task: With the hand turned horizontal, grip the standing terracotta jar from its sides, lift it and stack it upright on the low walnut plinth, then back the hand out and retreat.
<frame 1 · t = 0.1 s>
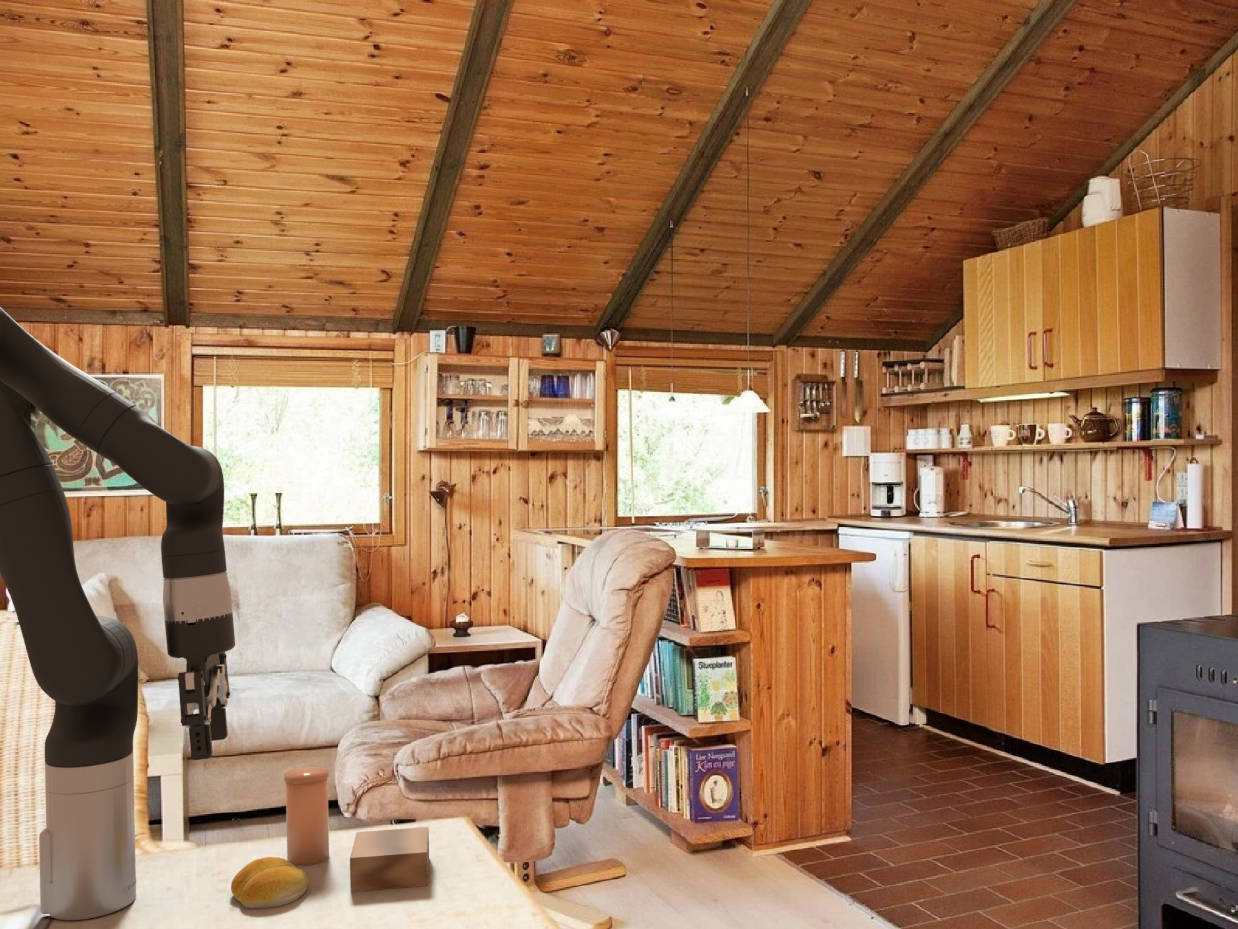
hand: (210, 748, 124), 17 cm above the table, tool pointing down, fingers open, 8 cm apart
jar: (308, 858, 135), on the table
plinth: (391, 874, 129), on the table
bread roll: (269, 897, 124), on the table
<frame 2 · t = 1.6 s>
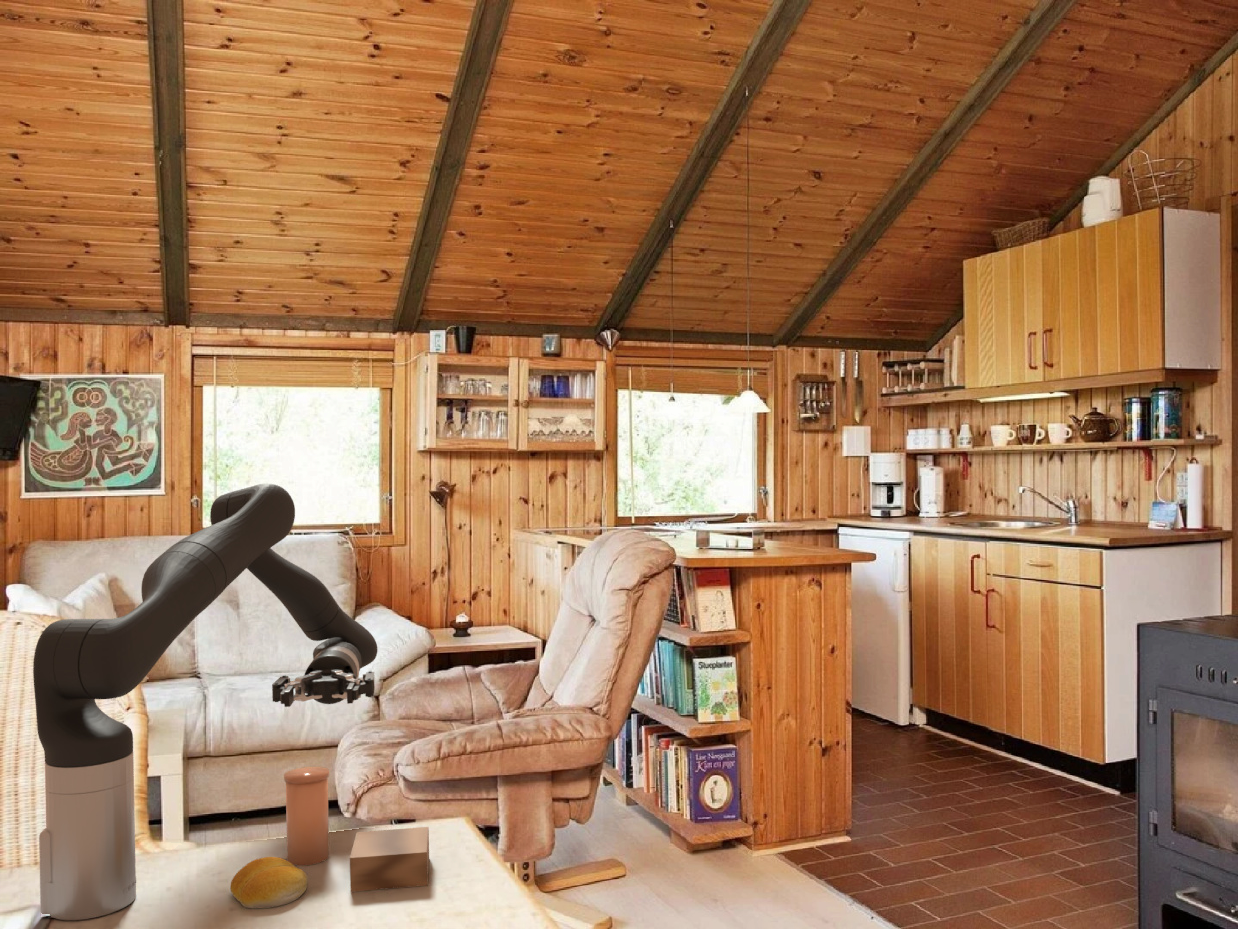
hand: (318, 698, 146), 18 cm above the table, tool horizontal, fingers open, 8 cm apart
nothing on the table moved.
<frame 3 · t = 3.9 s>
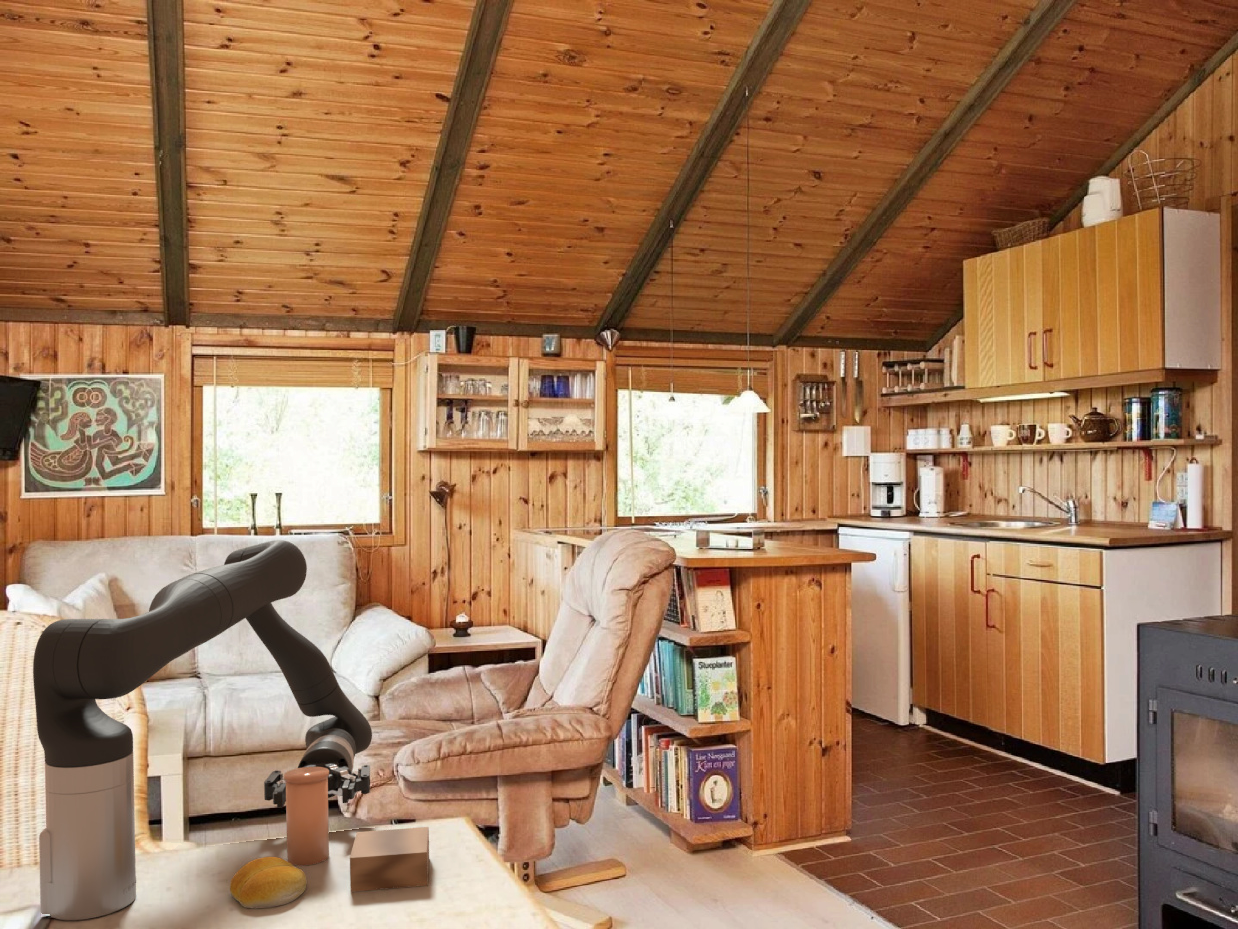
hand: (312, 798, 141), 6 cm above the table, tool horizontal, fingers open, 8 cm apart
nothing on the table moved.
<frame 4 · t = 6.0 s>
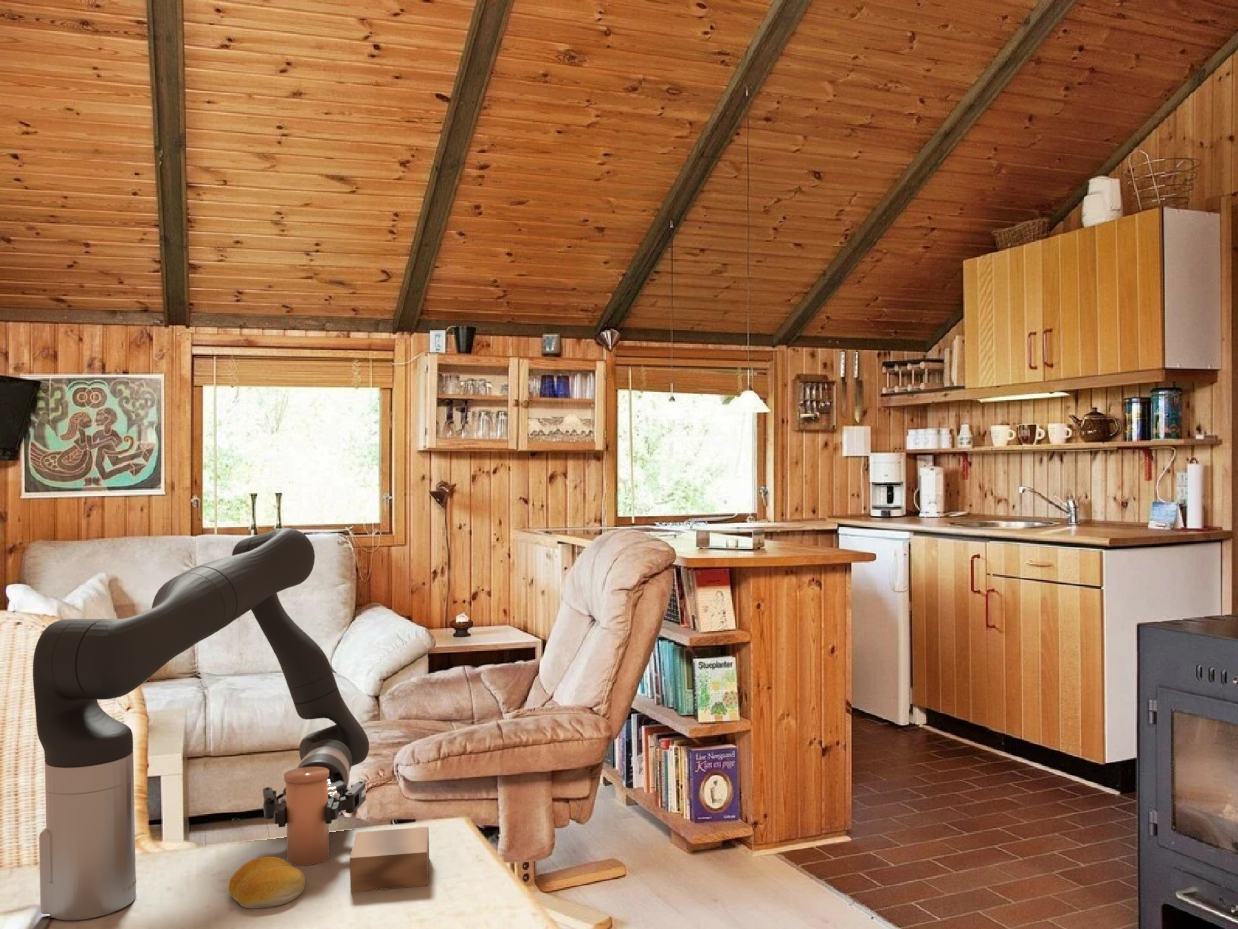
hand: (304, 817, 133), 6 cm above the table, tool horizontal, fingers closed on jar, 5 cm apart
jar: (308, 857, 135), on the table, touching gripper
everything else where it was.
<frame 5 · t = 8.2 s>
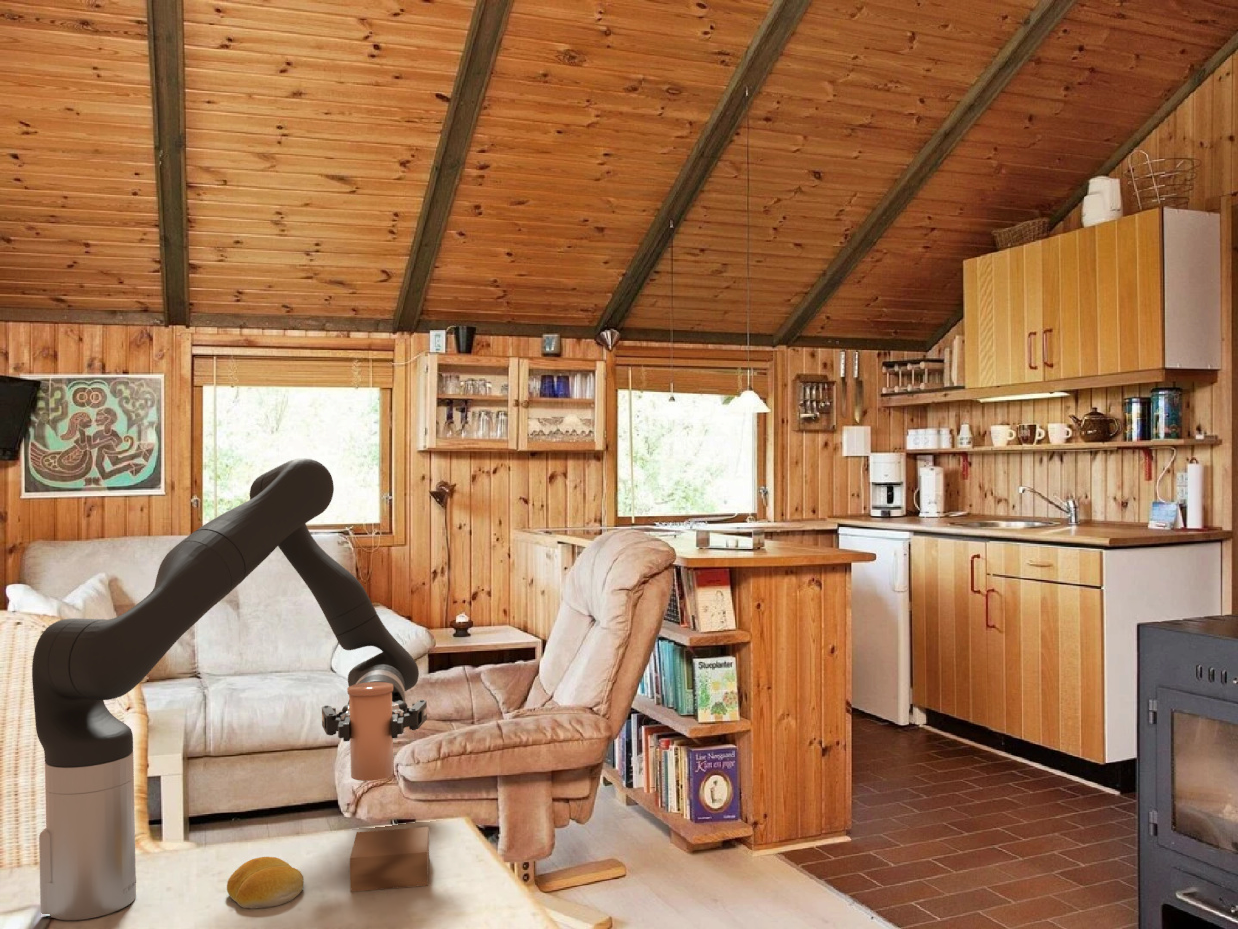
hand: (370, 731, 128), 18 cm above the table, tool horizontal, fingers closed on jar, 5 cm apart
jar: (372, 774, 131), point 12 cm above the table, touching gripper
everything else where it was.
when the fingers open (11 cm above the table, at t = 10.6 s): jar stays where it is, resting on plinth.
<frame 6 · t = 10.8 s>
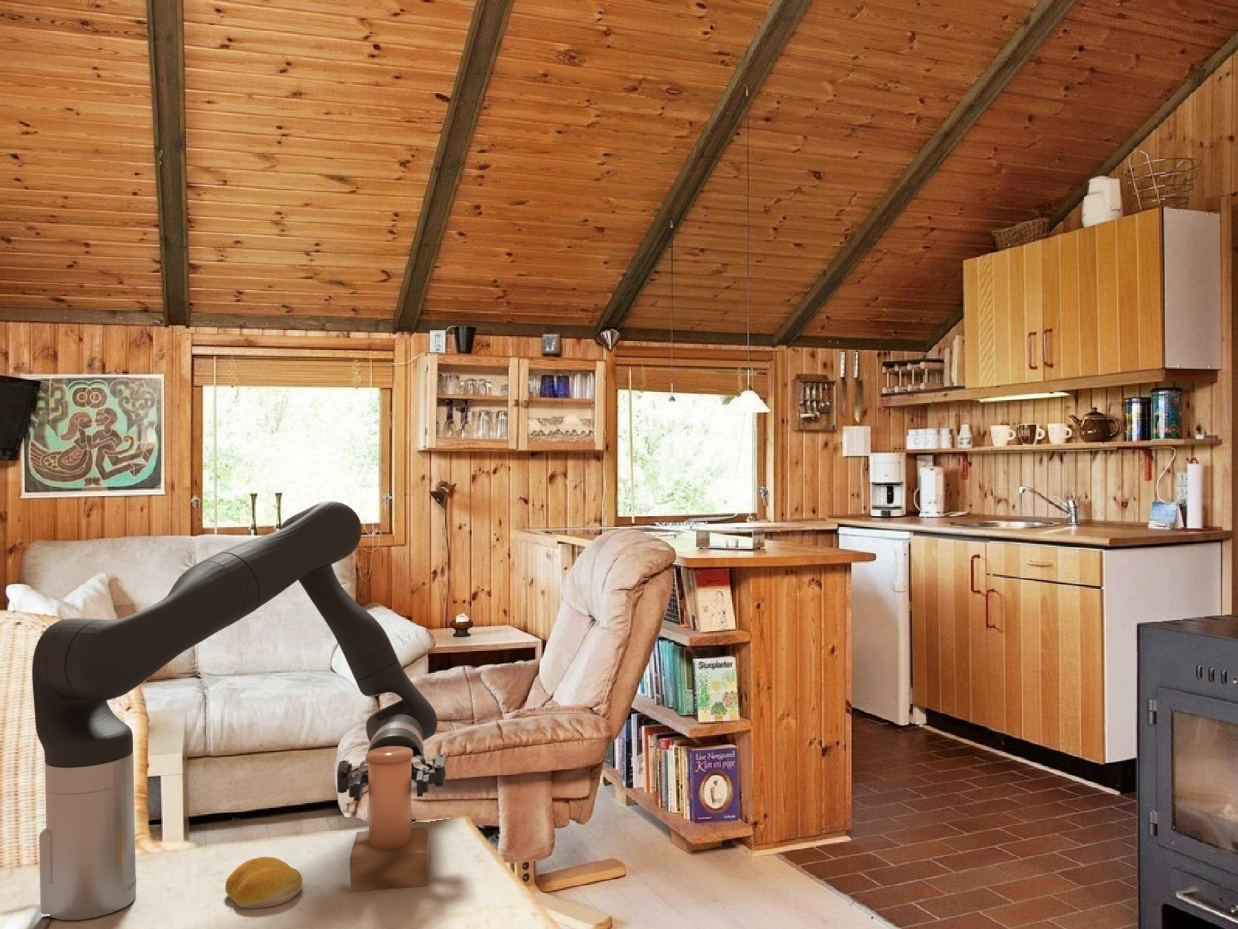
hand: (388, 790, 127), 11 cm above the table, tool horizontal, fingers open, 7 cm apart
jar: (390, 841, 129), point 4 cm above the table, touching plinth
everything else where it was.
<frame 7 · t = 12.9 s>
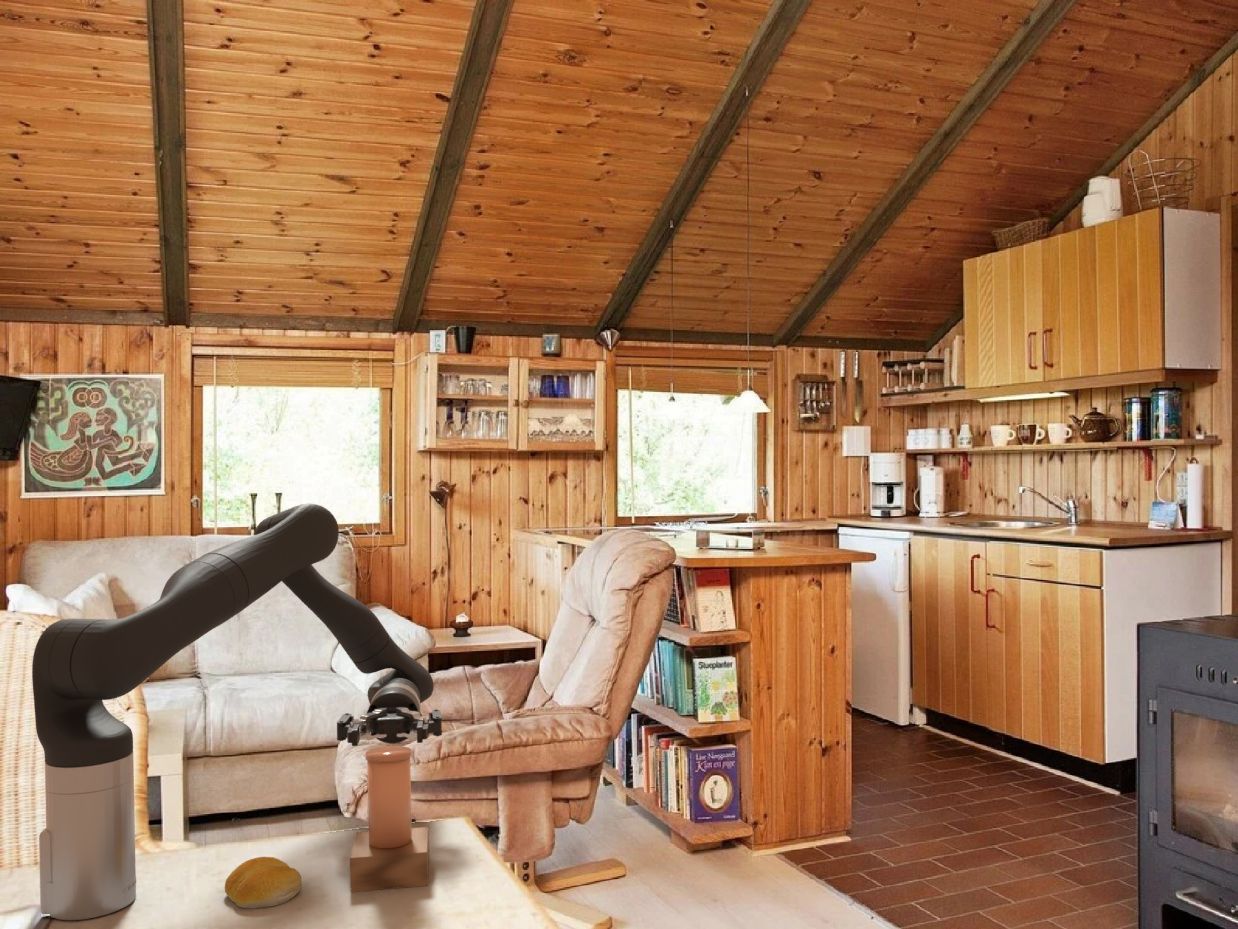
hand: (387, 737, 139), 14 cm above the table, tool horizontal, fingers open, 8 cm apart
nothing on the table moved.
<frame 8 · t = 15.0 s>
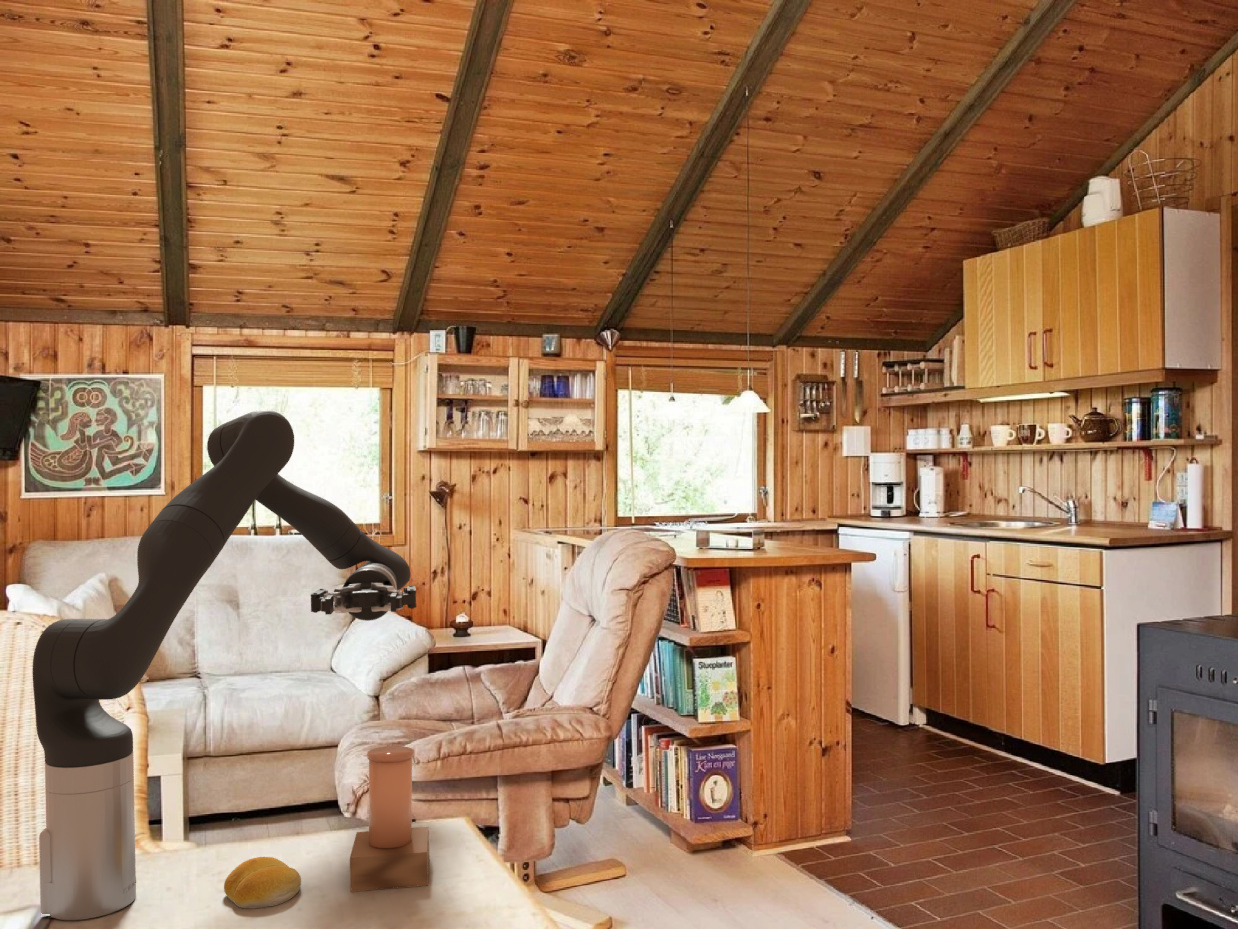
hand: (360, 605, 139), 32 cm above the table, tool horizontal, fingers open, 8 cm apart
nothing on the table moved.
at the end: jar inside the target area on the plinth (0.1 cm from its centre), point 4.1 cm above the plinth's base; jar tilted 2°; the gripper is holding nothing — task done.
